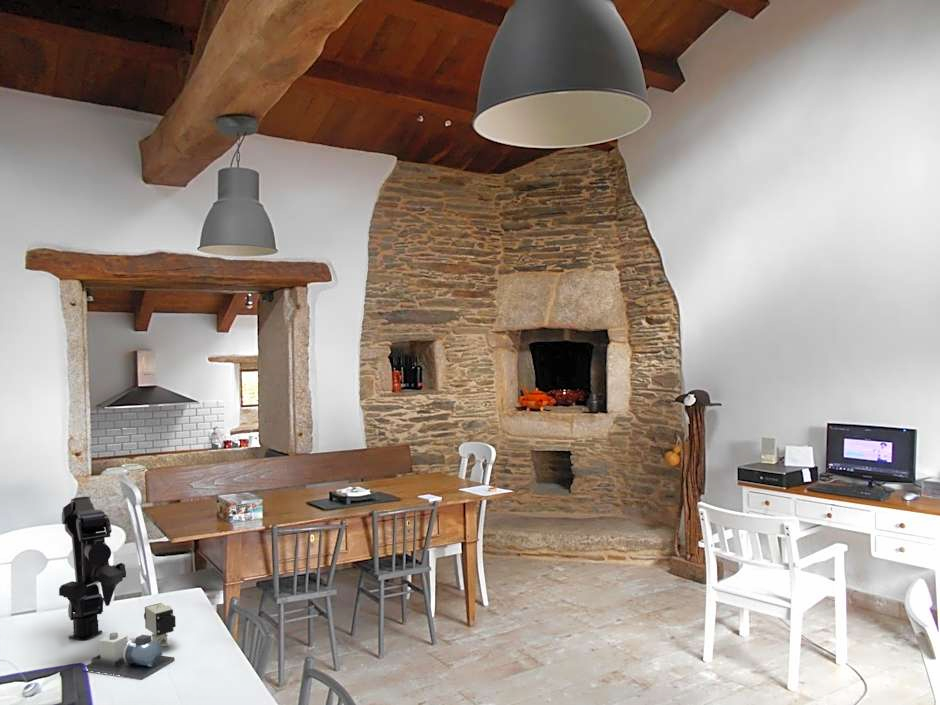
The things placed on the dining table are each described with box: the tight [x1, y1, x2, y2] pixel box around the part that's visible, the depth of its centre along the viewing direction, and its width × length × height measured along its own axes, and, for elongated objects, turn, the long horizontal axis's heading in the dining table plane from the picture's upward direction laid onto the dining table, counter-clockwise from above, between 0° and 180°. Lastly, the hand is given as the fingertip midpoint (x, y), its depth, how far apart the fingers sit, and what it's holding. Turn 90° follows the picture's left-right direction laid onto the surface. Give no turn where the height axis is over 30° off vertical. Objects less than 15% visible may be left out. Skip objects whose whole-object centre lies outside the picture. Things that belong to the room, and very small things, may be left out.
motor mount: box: [85, 634, 176, 681], centre depth 199 cm, size 20×12×8 cm, turn 71°
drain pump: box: [99, 632, 128, 661], centre depth 201 cm, size 5×4×7 cm
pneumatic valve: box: [143, 602, 177, 648], centre depth 213 cm, size 6×12×12 cm, turn 44°
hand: (94, 611), depth 209 cm, fingers open, 9 cm apart
